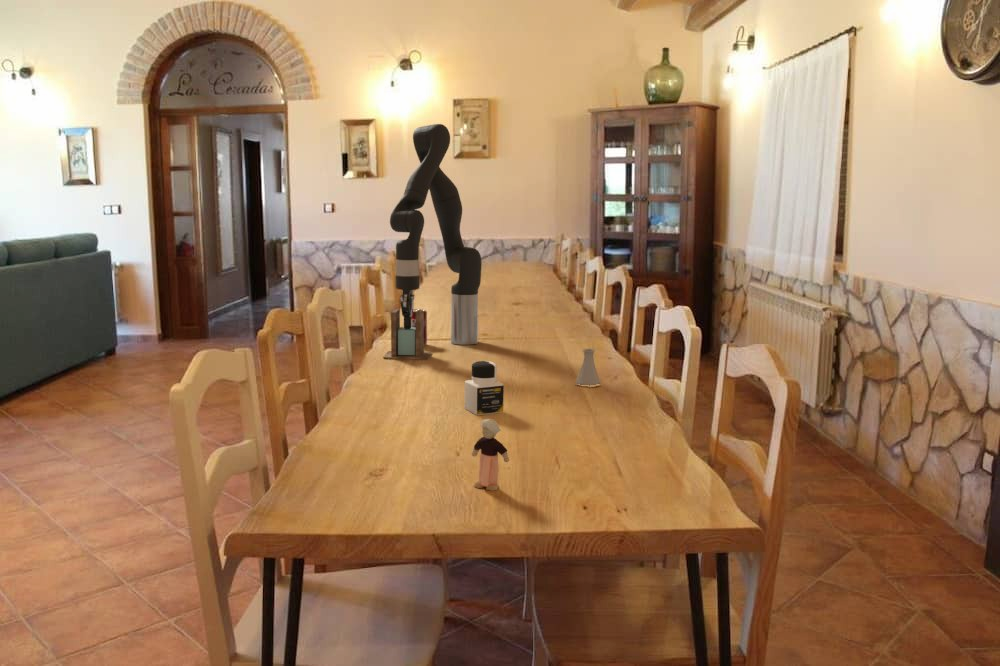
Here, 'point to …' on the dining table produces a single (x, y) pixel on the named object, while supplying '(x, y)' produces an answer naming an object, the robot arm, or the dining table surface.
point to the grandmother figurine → (489, 455)
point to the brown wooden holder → (419, 337)
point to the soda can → (413, 323)
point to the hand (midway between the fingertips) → (407, 328)
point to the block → (407, 341)
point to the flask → (588, 370)
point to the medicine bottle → (484, 390)
